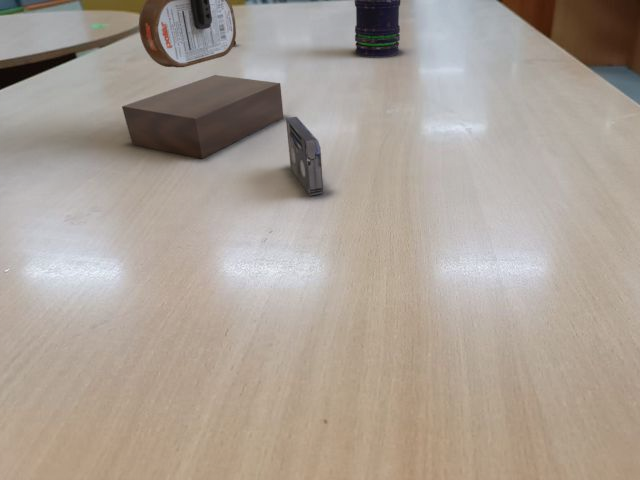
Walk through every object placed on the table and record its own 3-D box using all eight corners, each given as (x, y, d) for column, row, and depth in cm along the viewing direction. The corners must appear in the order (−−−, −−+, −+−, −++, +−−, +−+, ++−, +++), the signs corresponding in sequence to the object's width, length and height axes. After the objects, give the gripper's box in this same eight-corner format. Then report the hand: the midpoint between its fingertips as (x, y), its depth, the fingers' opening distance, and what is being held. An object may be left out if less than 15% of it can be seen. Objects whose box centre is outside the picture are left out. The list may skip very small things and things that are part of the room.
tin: (228, 51, 74) (215, -15, 70) (245, 51, 73) (233, -16, 68) (148, 74, 63) (127, -3, 59) (167, 74, 62) (146, -4, 57)
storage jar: (387, 46, 120) (388, -27, 111) (407, 54, 112) (410, -24, 104) (348, 50, 116) (346, -25, 108) (365, 59, 109) (365, -22, 101)
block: (131, 144, 67) (121, 106, 65) (220, 107, 81) (214, 74, 78) (202, 158, 63) (194, 118, 60) (283, 117, 76) (280, 83, 73)
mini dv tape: (323, 194, 54) (320, 139, 51) (309, 196, 54) (305, 141, 50) (303, 166, 61) (299, 115, 57) (290, 168, 60) (285, 117, 57)
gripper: (90, -144, 56) (131, 28, 66) (188, -153, 51) (217, 36, 60) (142, -138, 61) (173, 20, 71) (235, -146, 56) (255, 26, 66)
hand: (193, 26), depth 66 cm, fingers closed on tin, 2 cm apart
